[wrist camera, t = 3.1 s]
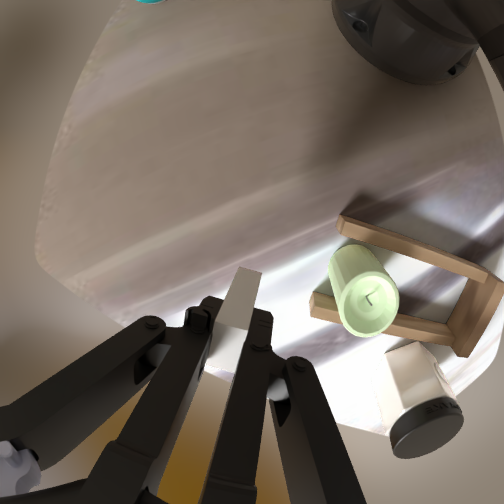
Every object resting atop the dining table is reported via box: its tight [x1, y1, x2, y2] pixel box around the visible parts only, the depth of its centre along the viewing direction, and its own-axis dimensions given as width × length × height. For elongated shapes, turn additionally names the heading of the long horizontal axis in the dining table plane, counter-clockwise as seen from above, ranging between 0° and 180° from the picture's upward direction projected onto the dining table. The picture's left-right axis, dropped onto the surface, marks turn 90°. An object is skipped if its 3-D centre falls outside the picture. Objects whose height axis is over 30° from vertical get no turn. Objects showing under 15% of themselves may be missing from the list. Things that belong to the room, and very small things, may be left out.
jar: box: [372, 341, 464, 459], centre depth 24 cm, size 9×8×12 cm
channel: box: [309, 214, 504, 358], centre depth 24 cm, size 9×20×5 cm, turn 76°
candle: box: [328, 244, 399, 337], centre depth 23 cm, size 5×5×8 cm
